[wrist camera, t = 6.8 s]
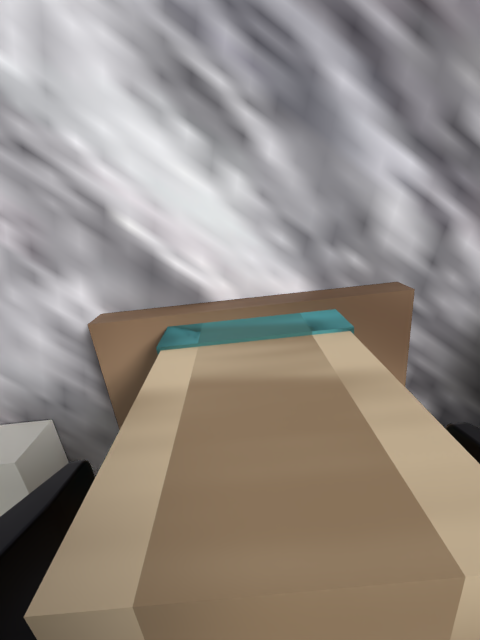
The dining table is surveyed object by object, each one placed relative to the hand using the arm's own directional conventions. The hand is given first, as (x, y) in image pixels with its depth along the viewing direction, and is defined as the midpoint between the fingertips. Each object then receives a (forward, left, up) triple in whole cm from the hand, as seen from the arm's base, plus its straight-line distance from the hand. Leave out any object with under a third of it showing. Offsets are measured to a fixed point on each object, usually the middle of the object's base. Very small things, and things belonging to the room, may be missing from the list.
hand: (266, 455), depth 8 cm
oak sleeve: (0, 0, -3) cm, 3 cm away
